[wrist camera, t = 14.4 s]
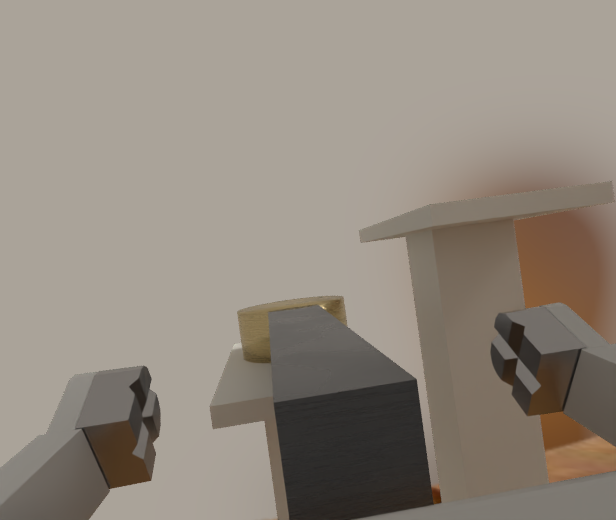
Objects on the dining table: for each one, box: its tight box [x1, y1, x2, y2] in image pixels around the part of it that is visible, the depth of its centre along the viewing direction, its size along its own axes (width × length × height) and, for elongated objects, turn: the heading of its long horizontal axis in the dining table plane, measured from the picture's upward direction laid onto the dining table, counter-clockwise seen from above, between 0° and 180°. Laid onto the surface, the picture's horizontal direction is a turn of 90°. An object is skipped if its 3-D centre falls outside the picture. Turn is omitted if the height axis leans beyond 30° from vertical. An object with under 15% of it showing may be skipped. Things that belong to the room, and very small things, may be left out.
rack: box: [210, 181, 615, 520], centre depth 29 cm, size 16×20×26 cm
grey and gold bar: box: [237, 296, 434, 520], centre depth 22 cm, size 24×7×3 cm, turn 5°
